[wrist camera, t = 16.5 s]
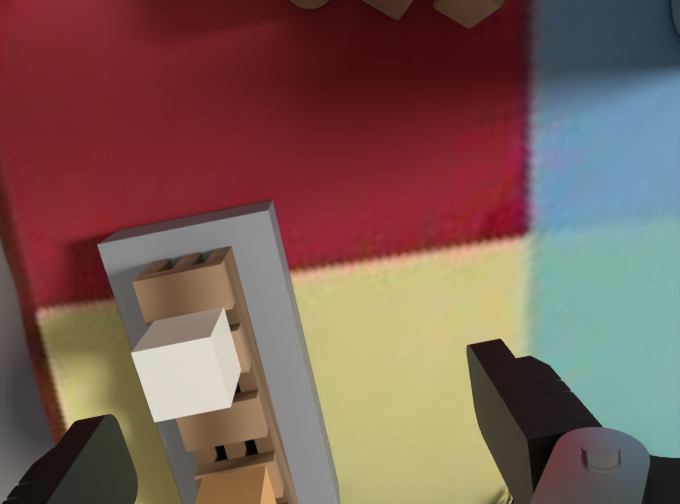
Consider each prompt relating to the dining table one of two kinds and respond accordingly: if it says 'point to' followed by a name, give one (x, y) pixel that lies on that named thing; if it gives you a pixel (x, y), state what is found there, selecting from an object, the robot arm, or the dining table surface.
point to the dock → (267, 321)
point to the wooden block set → (456, 3)
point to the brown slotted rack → (254, 399)
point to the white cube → (188, 364)
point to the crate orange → (237, 488)
